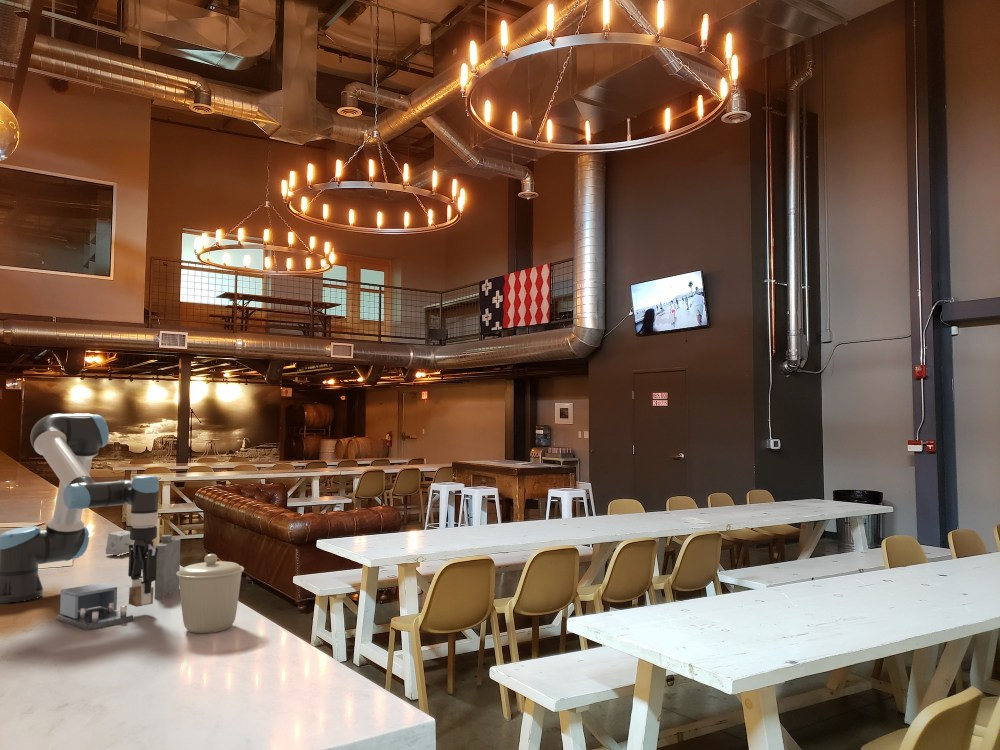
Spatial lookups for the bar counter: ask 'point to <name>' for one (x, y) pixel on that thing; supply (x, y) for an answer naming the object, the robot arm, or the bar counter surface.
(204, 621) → the canister
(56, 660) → the bar counter surface
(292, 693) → the bar counter surface
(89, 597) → the housing cover
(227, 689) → the bar counter surface
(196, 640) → the bar counter surface
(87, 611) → the housing base
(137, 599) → the light brown cube
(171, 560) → the hip flask
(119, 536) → the incense holder
